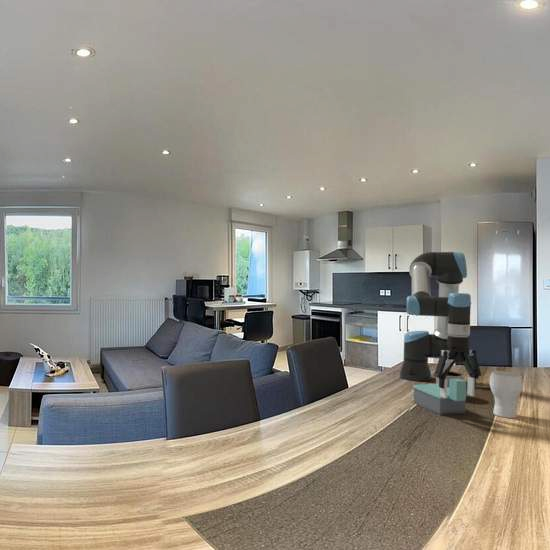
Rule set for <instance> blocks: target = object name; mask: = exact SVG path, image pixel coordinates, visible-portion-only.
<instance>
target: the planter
mask: <svg viewBox="0 0 550 550" xmlns="http://www.w3.org/2000/svg"><path fill="white" fill-rule="evenodd" d="M435 378H436V379H435V384H439V378H437V377H435ZM458 378H459V379H462V380H464V374H463V373H461V372H456V371H451V370H450V371H449V373H448V375H447V377H446V378H445V379H446V380H447V387H448V388H449V379H458Z"/></svg>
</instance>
